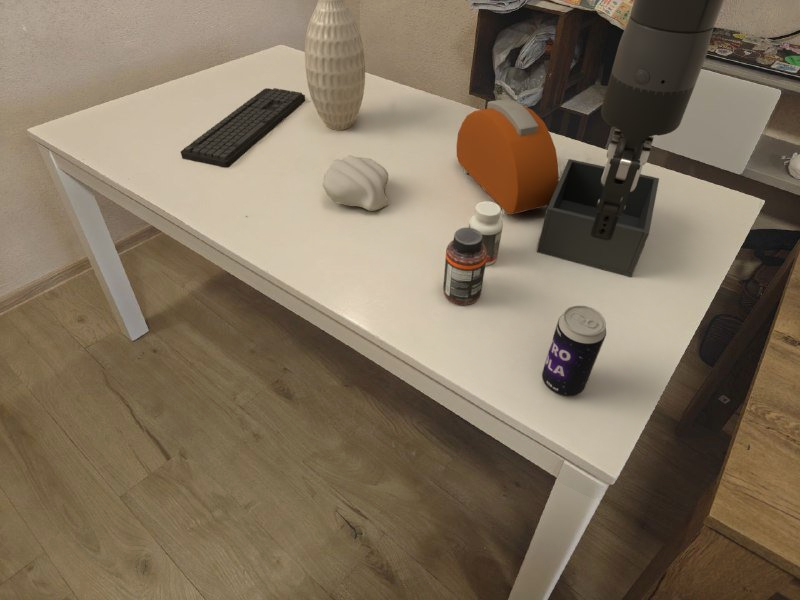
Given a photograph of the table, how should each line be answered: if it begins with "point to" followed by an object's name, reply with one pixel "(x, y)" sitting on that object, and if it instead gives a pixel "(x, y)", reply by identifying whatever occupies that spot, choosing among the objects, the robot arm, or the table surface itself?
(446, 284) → the supplement bottle
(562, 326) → the beverage can
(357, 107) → the vase
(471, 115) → the alarm clock
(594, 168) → the open storage box
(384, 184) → the shell shaped sculpture
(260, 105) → the keyboard
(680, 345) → the table surface
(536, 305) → the table surface
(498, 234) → the pill bottle
